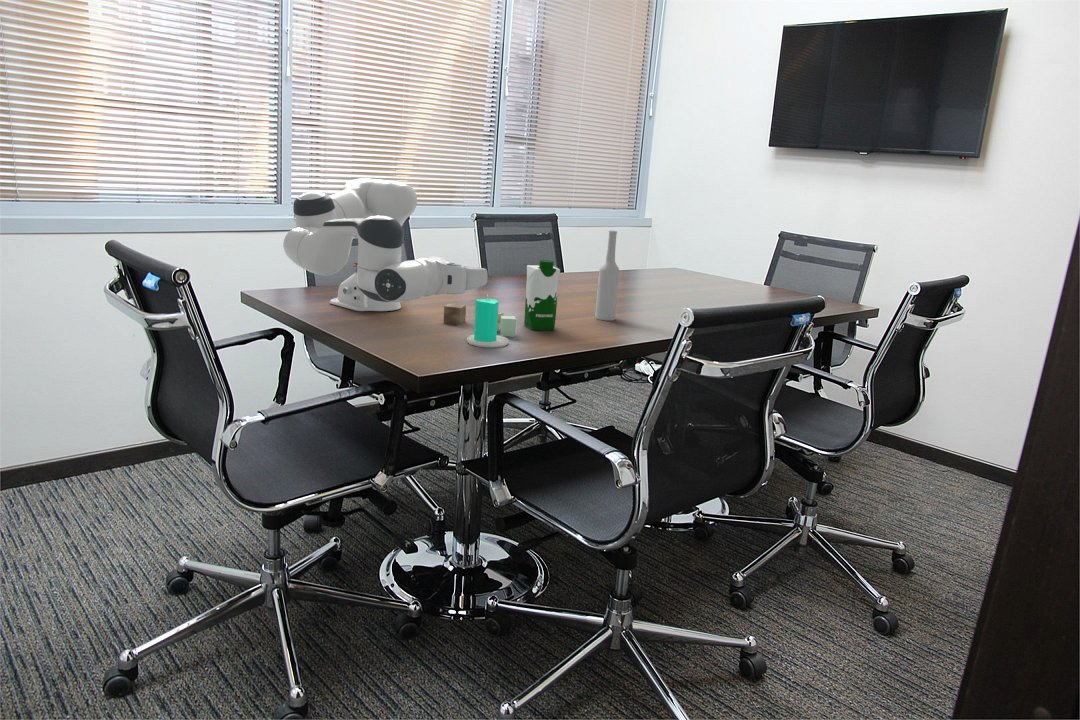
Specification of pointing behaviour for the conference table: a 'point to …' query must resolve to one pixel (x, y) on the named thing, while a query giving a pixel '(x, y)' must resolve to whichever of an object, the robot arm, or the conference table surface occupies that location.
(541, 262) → the milk carton
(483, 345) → the coaster
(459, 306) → the walnut block
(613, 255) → the bottle
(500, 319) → the maple block
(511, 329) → the sage block
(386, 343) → the conference table surface
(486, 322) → the candle
